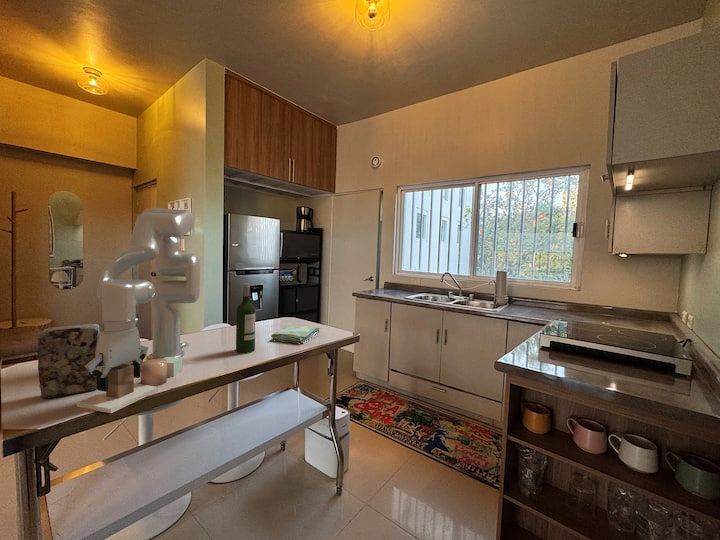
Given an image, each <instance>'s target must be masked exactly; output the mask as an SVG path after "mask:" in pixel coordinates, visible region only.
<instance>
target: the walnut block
mask: <svg viewBox="0 0 720 540" xmlns="http://www.w3.org/2000/svg"><path fill="white" fill-rule="evenodd" d="M106 377H108V391H106V397H112V398H118V399H119V398H121V397H123V396H125V395H128V394H130V393H132V392H134V383H135V381H134V380H135V378H134V365H127V364H122V365H119V366H116V367H113V368H111V369H110V370H109V372H108V373H107V375H106Z"/></svg>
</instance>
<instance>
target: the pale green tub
mask: <svg viewBox="0 0 720 540" xmlns="http://www.w3.org/2000/svg"><path fill="white" fill-rule="evenodd" d="M163 359H166V360H167V378H169V377H170V378H172V377H173V378H174V377H176V376H177V375H178V374H180V373H181V372H182V371H183V370H184V356H182V357H165V358H163Z"/></svg>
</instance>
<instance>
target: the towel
mask: <svg viewBox="0 0 720 540" xmlns="http://www.w3.org/2000/svg"><path fill="white" fill-rule="evenodd" d="M319 333H320V328H319V327H317V326H302V325H301V326H295V325H288V326H286V327H284V328H281V329H279V330H277V331H276V332H273V333H272V334H271V335H270V337H271V341H272V340H273V341H272V342H277V341H281V343H288V342H293V343H292V344H297V343H303V342H305V341H307V340H309V339H310V338H312V337H313V336H315V335H316V334H319ZM274 340H275V341H274ZM309 341H310V340H309Z"/></svg>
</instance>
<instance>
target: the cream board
mask: <svg viewBox="0 0 720 540" xmlns="http://www.w3.org/2000/svg"><path fill="white" fill-rule="evenodd" d="M158 391H159V386H157V387H155V386H149V385H143V384H141V383H136V382H134V392H132V393H130V394H128V395H125V396H123V397H121V398H119V399H118V398H112V397H106V391H101V392H100V393H97V394H94V395H91V396H89V397H87V398H84V399H82V400H79V401H78V402H76V406H77V407H78V408H81V409H87V410H92V411H97V412H103V413H106V414H112V413H114V412H117V411H119V410H121V409H123V408H125V407H127V406H129V405H131V404H133V403H136V402H138V401H139V400H142V399H143V398H146V397H148V396H149V395H153V394H154V393H157V392H158Z"/></svg>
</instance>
